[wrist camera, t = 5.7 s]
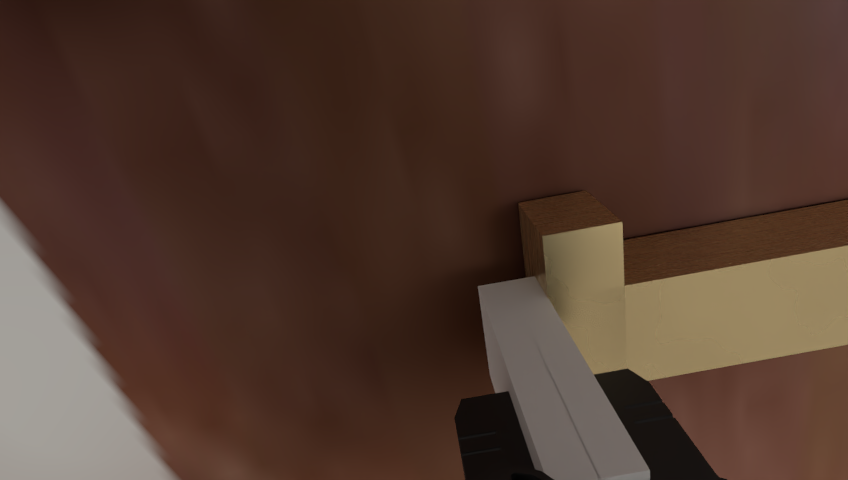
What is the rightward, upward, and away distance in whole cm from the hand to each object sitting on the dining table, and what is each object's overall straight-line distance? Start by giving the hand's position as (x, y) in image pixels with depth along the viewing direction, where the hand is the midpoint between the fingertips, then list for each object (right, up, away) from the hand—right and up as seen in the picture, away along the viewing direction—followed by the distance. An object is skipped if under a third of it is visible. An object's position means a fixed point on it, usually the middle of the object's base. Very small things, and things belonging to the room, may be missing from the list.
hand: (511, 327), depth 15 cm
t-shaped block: (+6, +2, +1) cm, 6 cm away
